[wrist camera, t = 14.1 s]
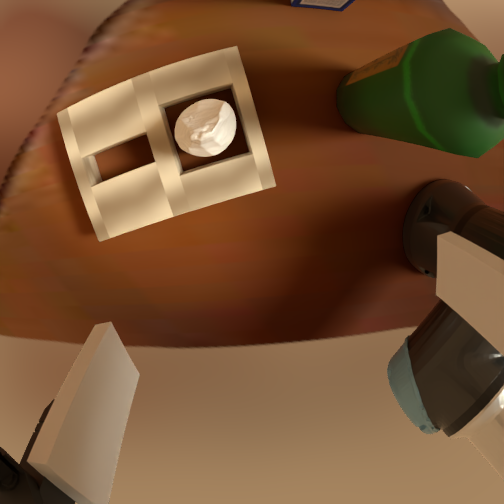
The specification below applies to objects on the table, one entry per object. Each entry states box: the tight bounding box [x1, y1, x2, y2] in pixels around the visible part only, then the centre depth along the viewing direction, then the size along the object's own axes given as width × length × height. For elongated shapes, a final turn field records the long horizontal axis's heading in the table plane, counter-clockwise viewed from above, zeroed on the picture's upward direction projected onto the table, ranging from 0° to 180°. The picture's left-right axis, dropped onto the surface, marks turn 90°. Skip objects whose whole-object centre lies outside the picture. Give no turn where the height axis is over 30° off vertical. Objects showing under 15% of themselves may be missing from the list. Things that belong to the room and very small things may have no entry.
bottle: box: [337, 28, 504, 158], centre depth 21 cm, size 11×11×28 cm
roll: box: [175, 99, 236, 157], centre depth 28 cm, size 6×12×6 cm
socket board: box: [57, 46, 276, 242], centre depth 32 cm, size 16×21×4 cm
